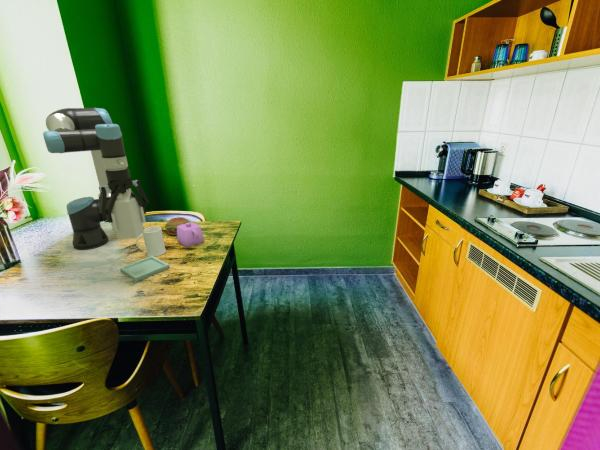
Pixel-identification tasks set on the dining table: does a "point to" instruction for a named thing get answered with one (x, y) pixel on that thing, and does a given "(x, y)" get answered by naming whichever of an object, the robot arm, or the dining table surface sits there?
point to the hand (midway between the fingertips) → (129, 225)
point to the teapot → (189, 234)
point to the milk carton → (127, 216)
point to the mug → (153, 241)
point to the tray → (144, 268)
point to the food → (175, 225)
